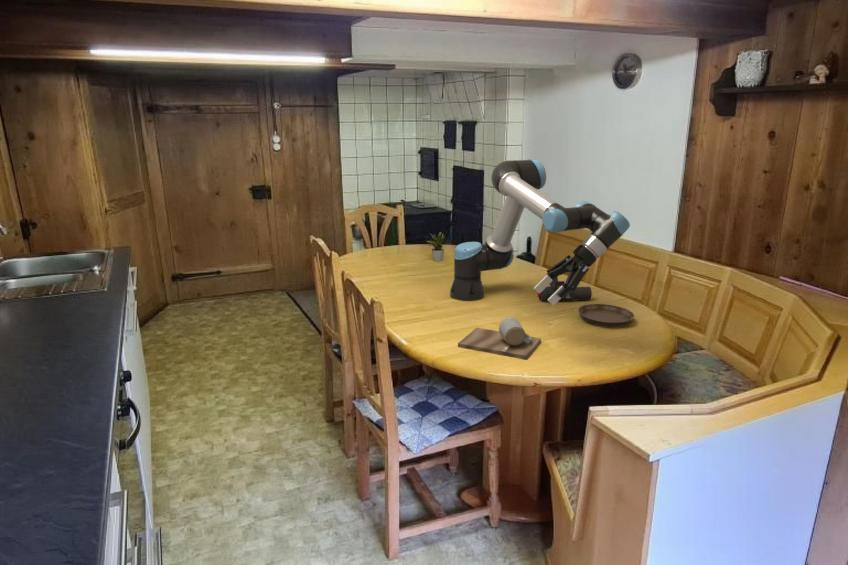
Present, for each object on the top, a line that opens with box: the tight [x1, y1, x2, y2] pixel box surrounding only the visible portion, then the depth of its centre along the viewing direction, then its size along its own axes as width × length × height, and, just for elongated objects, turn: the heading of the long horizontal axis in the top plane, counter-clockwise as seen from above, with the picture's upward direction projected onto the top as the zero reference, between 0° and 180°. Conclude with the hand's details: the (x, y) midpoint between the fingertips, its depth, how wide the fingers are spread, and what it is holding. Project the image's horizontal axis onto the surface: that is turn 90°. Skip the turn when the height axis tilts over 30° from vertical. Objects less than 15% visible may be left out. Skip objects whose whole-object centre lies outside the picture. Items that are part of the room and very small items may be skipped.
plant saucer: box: [577, 303, 635, 328], centre depth 213 cm, size 21×21×3 cm
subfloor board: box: [457, 327, 542, 360], centre depth 190 cm, size 24×17×1 cm
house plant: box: [426, 231, 448, 262], centre depth 308 cm, size 14×14×16 cm
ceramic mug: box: [498, 317, 532, 346], centre depth 187 cm, size 11×8×8 cm
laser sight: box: [537, 276, 593, 303], centre depth 236 cm, size 10×22×10 cm, turn 94°
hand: (543, 296), depth 185 cm, fingers open, 13 cm apart
